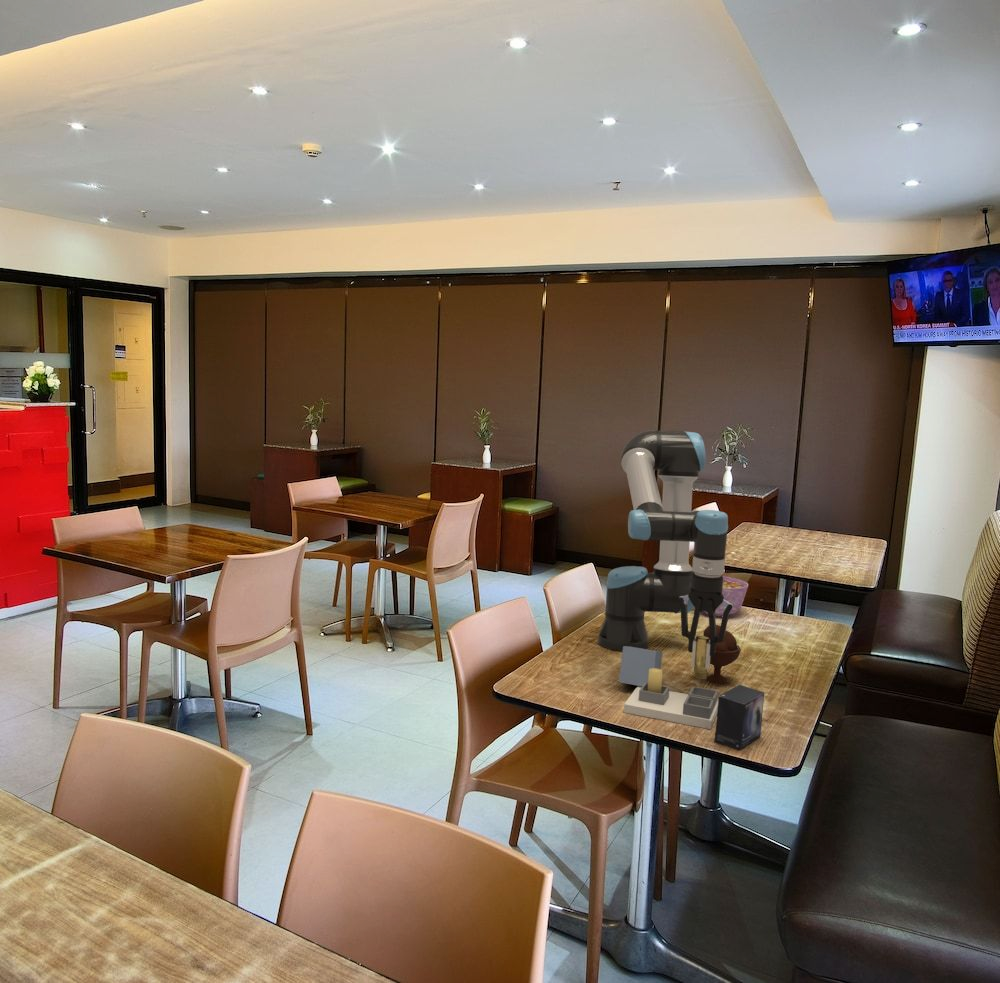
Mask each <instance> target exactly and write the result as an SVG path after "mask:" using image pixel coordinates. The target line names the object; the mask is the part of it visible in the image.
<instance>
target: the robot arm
mask: <svg viewBox="0 0 1000 983" xmlns="http://www.w3.org/2000/svg"><path fill="white" fill-rule="evenodd" d="M706 454H707V453H706V447H705V442H704V440H703V438H702V436H701V434H699V433H698V432H692V431H685V430H684V431H680V430H654V429H650V430H643V431H641V432H639V433H637V434H635V435H633V436H631V438H630V439H628V441H627V442H626V443H625V445H624V446H623V447H622V450H621V454H620V463H621V468H622V470H623V472H625V473H626V476H627V482H628V486H629V491H630V492H629V493H630V497H631V503H632V507H633V510H632V509H631V510H630V512H629V513H628V518H627V520H628V521H627V533H628V536H629V538H631V539H635V540H642V541H660V542H659V557H658V558H659V560H658V562H657V563H656V564H654V565H653V572H648V569H647V568H646V567H644V566H636V565H629V566H628V565H626V566H620V567H616V568H613V569H612V570H610V571H609V573H608V574H607V579H606V580H607V581H606V585H605V587H606V597H605V612H604V613H605V614H604V619H603V622H602V625H601V626H600V629H599V632H598V635H597V643H598V645H600V646H602V647H603V648H606V649H609V650H612V651H619V652H623V646H628V647H635V648H642V649H648V648H649V642H650V640H649V634H648V631H647V628H646V623H645V612H649V613H670V614H680V624H681V625H680V626H681V627H680V628H681V629H680V630H681V636H682V637H684V638H687V639H688V645H687V646H688V648H687V649H688V650H687V651H688V653H691V667H692V668H694V667H695V654H696V637H697V636H696V633H697V629H698V626H699V620H700V617H701V612H704V611H706V612H708V615H707V616H708V626H709V630H710V640H709V643H707V650H706V663H705V669H707V670H709V668H710V665H711V664H710V657H711V656H714V654H715V651H716V643H718V642H720V643H721V642H723V640H724V637H725V632H726V631H727V626H728V620H729V616H730V614H729V612H730V611H731V609H732V607H733V603H732V602H730V603H729V602H727V601H726V600H724V596H723V594H722V590H723V576H724V573H725V563H726V552H727V551H726V550H727V538H728V530H729V523H728V522H729V516H728V514H727V513H726V512H724V511H720V510H714V509H713V510H712V509H702V510H699V509H697V510H696V509H695V510H692V503H693V484H694V483H695V481H697V480H698V478H699V473H701V472H704V471H705V469H706V464H707V463H706V461H707V460H706V459H707V458H706V457H707V455H706ZM655 470H656V471H658V477H659V479H660V480H661V481H662V498H661V495H660V492H659V487H658V486H659V485H658V484H657V479H656V473H655ZM690 543H693V554H692V555H693V557H692V565H691V564H690V561H689V559H690ZM721 604H722V605H723V607H722V608H723V610H724V613H723V617H721V623H720V626H721V627H720V632H719V636H716V625H717V624H716V623H717V622H716V616H715V610H716V609H717V608H718V607H719V606H720V605H721ZM693 609H694V611H693ZM692 611H693V617H692V622H691V626H690V630H689V620H688V619H689V618H688V617H689V614H688V613H690V612H692Z"/></svg>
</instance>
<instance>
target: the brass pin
mask: <svg viewBox="0 0 1000 983" xmlns="http://www.w3.org/2000/svg"><path fill="white" fill-rule="evenodd" d="M695 638H696V654H695V667H693V673H692V675H693V678H695V679H697V680H705V679H706V677H707V676H708V675H707V672H708V669H705V663H706V650H707V643H709V638H708V637H706V636H703V635H697V636H695Z"/></svg>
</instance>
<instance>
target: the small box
mask: <svg viewBox="0 0 1000 983" xmlns="http://www.w3.org/2000/svg"><path fill="white" fill-rule="evenodd" d="M717 700H718V709H717V715H716V722H715V733H714V740H713V741H714V742H716V743H719V744H721V745H725V746H727V747H731V748H733V749H736V750H742V749H744V748H746V747H747V746H748V745H749V744H751V743H753V742H754V741H756V740H758V739H759V738H761V735H762V726H763V725H762V722H763V714H764V713H763V712H764V710H763V709H764V702H765V692H764V691H761V690H758V689H755V688H751V687H748V686H745V685H742V684H738V685H736V686H735V687H733V688H730V689H728V690H727V691H725V692H722V693H721V694H718V699H717Z"/></svg>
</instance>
